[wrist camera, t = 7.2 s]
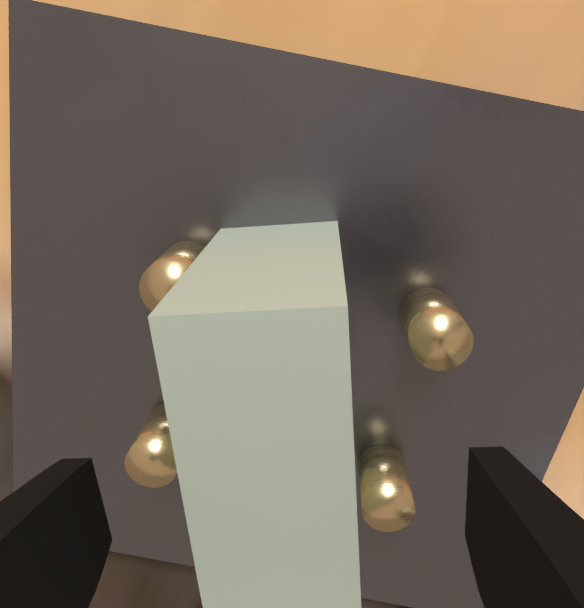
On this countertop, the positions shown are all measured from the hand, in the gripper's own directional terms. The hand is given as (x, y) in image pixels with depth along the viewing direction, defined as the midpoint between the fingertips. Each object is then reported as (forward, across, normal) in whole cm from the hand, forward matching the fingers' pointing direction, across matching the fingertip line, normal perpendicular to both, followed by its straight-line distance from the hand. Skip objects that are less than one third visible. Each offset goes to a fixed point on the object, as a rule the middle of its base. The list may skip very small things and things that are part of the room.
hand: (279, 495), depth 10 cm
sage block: (+5, 0, 0) cm, 5 cm away
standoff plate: (+6, 0, 0) cm, 6 cm away
